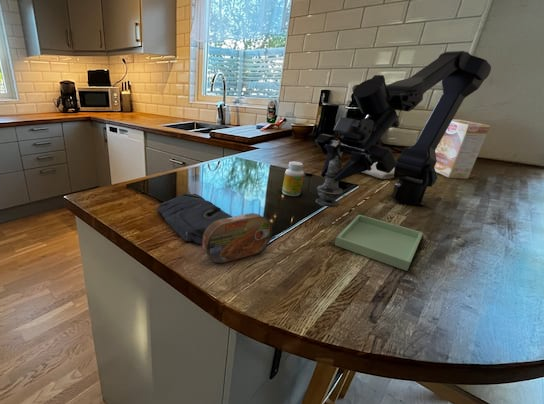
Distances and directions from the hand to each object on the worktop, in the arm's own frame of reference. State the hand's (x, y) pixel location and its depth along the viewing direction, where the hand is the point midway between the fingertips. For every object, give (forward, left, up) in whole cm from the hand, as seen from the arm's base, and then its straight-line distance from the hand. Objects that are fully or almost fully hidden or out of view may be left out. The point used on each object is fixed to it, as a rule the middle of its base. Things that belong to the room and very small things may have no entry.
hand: (328, 178), depth 71 cm
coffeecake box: (-53, -61, -11) cm, 82 cm away
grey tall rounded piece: (-1, -1, -7) cm, 7 cm away
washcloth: (-29, -52, -11) cm, 60 cm away
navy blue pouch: (+29, +10, -11) cm, 33 cm away
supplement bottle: (+6, -17, -11) cm, 22 cm away
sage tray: (-11, +8, -11) cm, 18 cm away
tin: (+18, +23, -11) cm, 31 cm away
